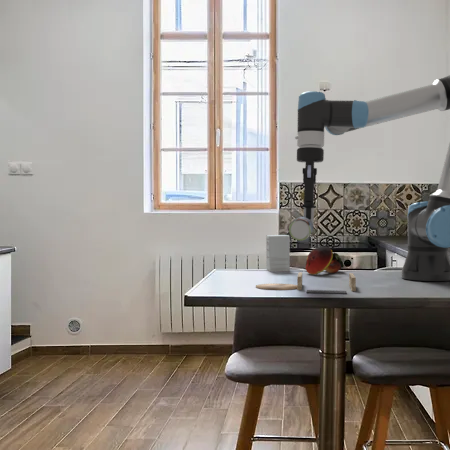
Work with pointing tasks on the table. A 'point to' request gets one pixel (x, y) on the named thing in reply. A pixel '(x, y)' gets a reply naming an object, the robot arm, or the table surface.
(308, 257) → the dark red rounded pieces
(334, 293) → the pad
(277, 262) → the supplement box
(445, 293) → the table surface
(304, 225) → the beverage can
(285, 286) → the coaster
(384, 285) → the table surface
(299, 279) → the channel
